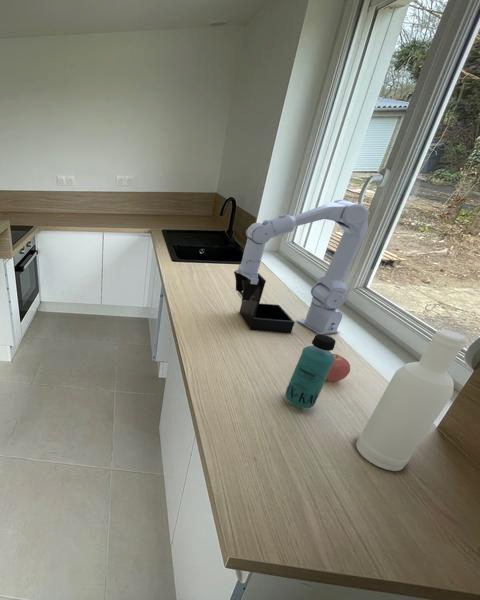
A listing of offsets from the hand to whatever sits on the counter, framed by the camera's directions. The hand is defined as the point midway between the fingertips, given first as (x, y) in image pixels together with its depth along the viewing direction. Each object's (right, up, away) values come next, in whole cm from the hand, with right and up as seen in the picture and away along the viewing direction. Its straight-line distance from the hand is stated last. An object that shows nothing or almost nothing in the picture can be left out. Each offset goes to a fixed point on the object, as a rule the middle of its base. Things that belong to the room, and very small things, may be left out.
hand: (242, 295), depth 115 cm
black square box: (+10, -10, +3) cm, 14 cm away
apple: (+12, -24, -25) cm, 36 cm away
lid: (+4, +1, -1) cm, 4 cm away
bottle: (+5, -35, -47) cm, 59 cm away
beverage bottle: (-4, -28, -34) cm, 45 cm away
